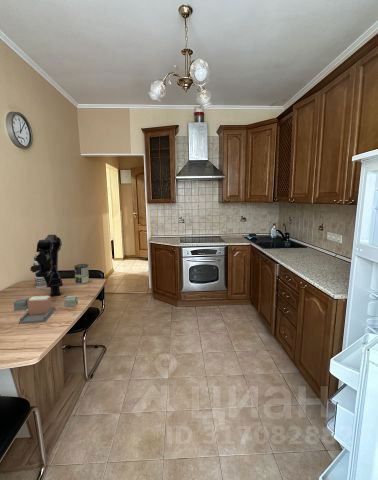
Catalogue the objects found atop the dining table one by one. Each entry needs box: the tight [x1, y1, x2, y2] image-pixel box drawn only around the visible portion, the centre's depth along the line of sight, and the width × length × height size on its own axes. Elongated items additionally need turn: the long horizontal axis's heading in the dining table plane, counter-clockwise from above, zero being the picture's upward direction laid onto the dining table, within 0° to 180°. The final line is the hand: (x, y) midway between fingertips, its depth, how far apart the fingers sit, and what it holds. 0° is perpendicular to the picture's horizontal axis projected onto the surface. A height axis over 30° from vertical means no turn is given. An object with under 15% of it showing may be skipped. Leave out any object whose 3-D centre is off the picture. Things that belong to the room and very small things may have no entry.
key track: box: [18, 306, 56, 325], centre depth 141 cm, size 16×13×2 cm
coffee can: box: [73, 263, 90, 285], centre depth 200 cm, size 10×10×14 cm
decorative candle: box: [32, 253, 47, 289], centre depth 189 cm, size 9×9×25 cm
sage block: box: [63, 295, 78, 308], centre depth 156 cm, size 6×6×5 cm
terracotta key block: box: [27, 295, 52, 315], centre depth 143 cm, size 6×10×9 cm, turn 100°
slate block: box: [13, 297, 30, 312], centre depth 151 cm, size 6×6×5 cm
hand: (48, 284), depth 156 cm, fingers closed
